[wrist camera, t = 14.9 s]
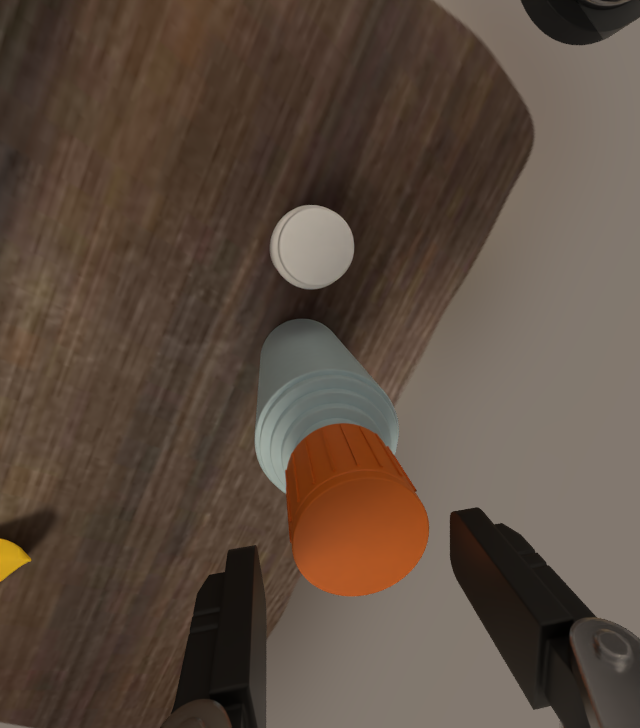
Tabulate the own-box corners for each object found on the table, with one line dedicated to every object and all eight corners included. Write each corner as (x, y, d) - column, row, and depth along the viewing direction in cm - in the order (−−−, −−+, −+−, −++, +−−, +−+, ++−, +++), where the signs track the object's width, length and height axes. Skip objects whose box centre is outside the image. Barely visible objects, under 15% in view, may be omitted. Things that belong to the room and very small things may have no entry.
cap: (413, 459, 15) (459, 522, 11) (344, 535, 15) (368, 619, 12) (333, 399, 14) (356, 448, 10) (262, 483, 14) (260, 558, 11)
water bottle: (295, 301, 29) (344, 379, 10) (358, 351, 31) (497, 497, 12) (243, 366, 30) (203, 548, 11) (307, 412, 32) (365, 636, 13)
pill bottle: (267, 280, 28) (268, 289, 20) (271, 211, 27) (273, 192, 19) (331, 285, 29) (356, 296, 21) (338, 218, 28) (366, 203, 20)
